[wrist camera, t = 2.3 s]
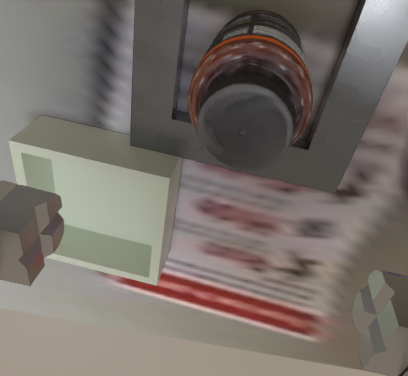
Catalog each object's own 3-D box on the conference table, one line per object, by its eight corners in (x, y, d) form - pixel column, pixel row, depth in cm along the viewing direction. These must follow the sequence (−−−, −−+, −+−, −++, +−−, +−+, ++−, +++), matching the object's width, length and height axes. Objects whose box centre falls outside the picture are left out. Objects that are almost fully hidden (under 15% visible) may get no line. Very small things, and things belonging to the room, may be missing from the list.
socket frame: (446, -66, 18) (458, -66, 17) (332, 182, 28) (334, 193, 27) (148, -123, 19) (139, -127, 18) (136, 136, 29) (129, 145, 27)
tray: (184, 147, 28) (169, 178, 25) (169, 250, 36) (156, 285, 32) (42, 115, 29) (8, 140, 25) (56, 222, 36) (31, 253, 33)
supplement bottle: (256, 117, 26) (241, 214, 17) (195, 59, 24) (142, 132, 15) (323, 56, 23) (351, 135, 14) (258, -16, 21) (240, 21, 12)
